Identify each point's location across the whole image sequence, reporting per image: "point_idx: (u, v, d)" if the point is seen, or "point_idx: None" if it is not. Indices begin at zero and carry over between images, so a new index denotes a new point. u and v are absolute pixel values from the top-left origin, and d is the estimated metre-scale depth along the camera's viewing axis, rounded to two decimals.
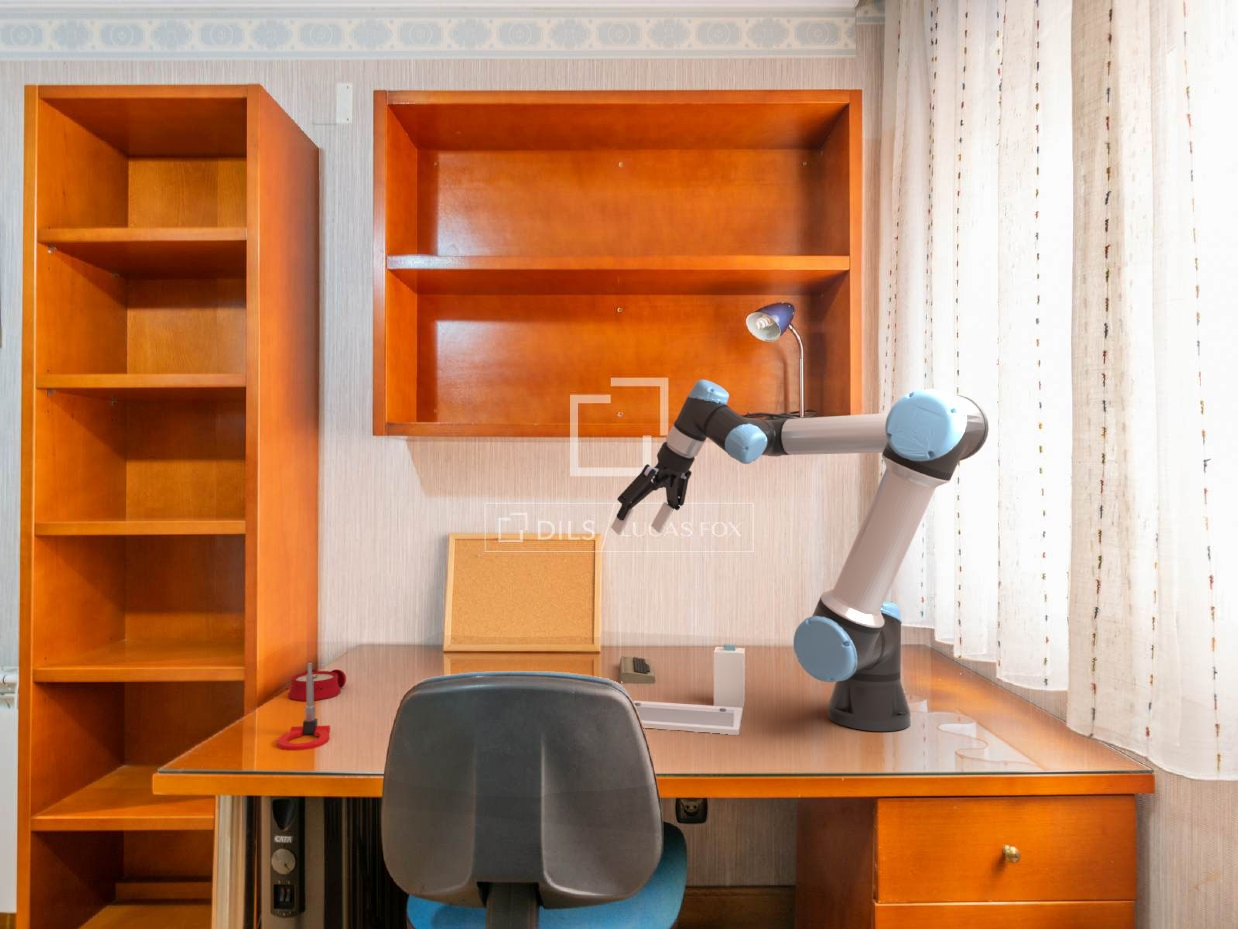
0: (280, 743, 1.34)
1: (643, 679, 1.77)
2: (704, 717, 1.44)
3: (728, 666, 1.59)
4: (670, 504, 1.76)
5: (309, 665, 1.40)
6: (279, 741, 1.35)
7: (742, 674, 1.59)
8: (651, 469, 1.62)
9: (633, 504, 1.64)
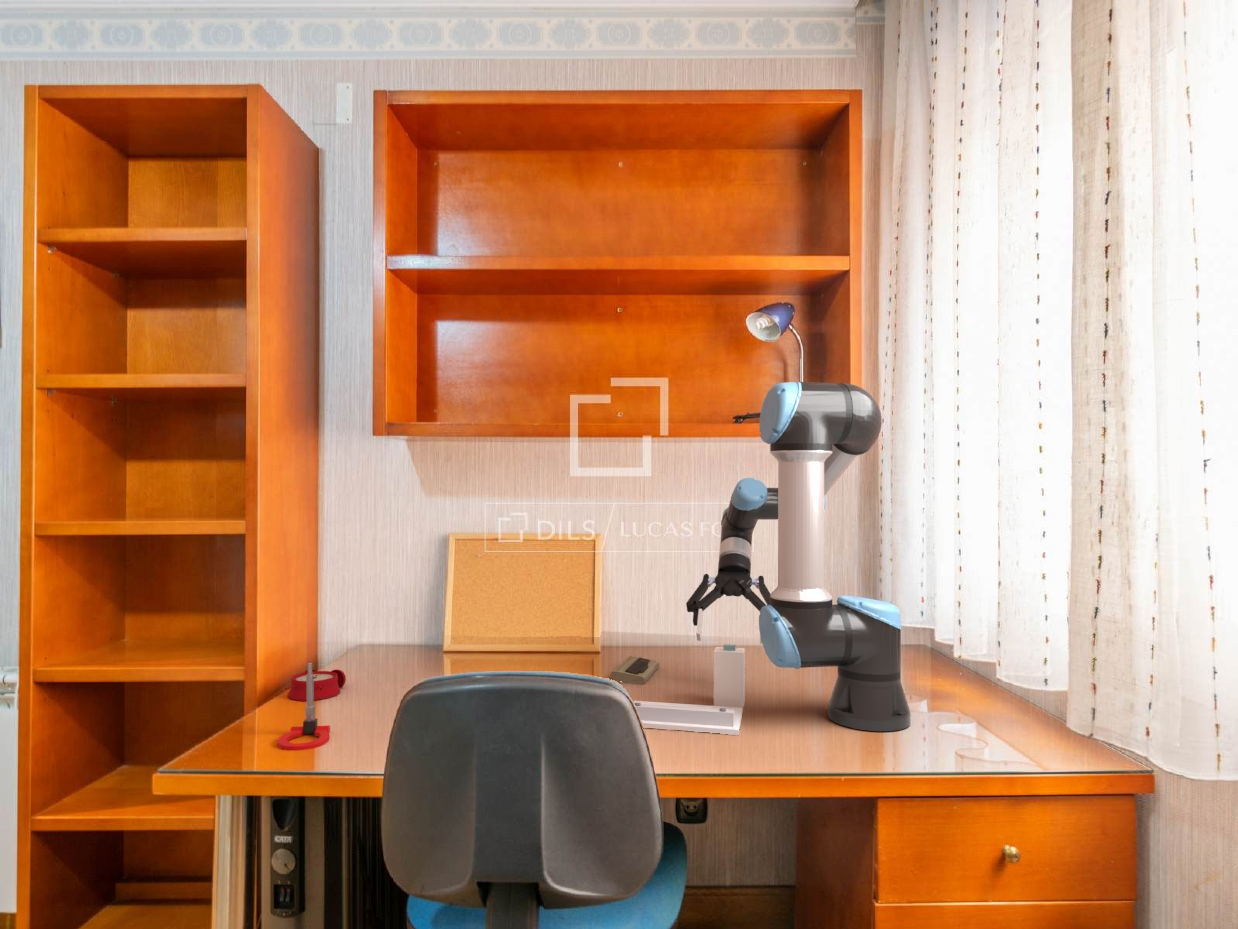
0: (280, 743, 1.34)
1: (633, 679, 1.77)
2: (704, 717, 1.44)
3: (728, 666, 1.59)
4: None
5: (309, 665, 1.40)
6: (279, 741, 1.35)
7: (742, 674, 1.59)
8: None
9: (698, 604, 1.75)
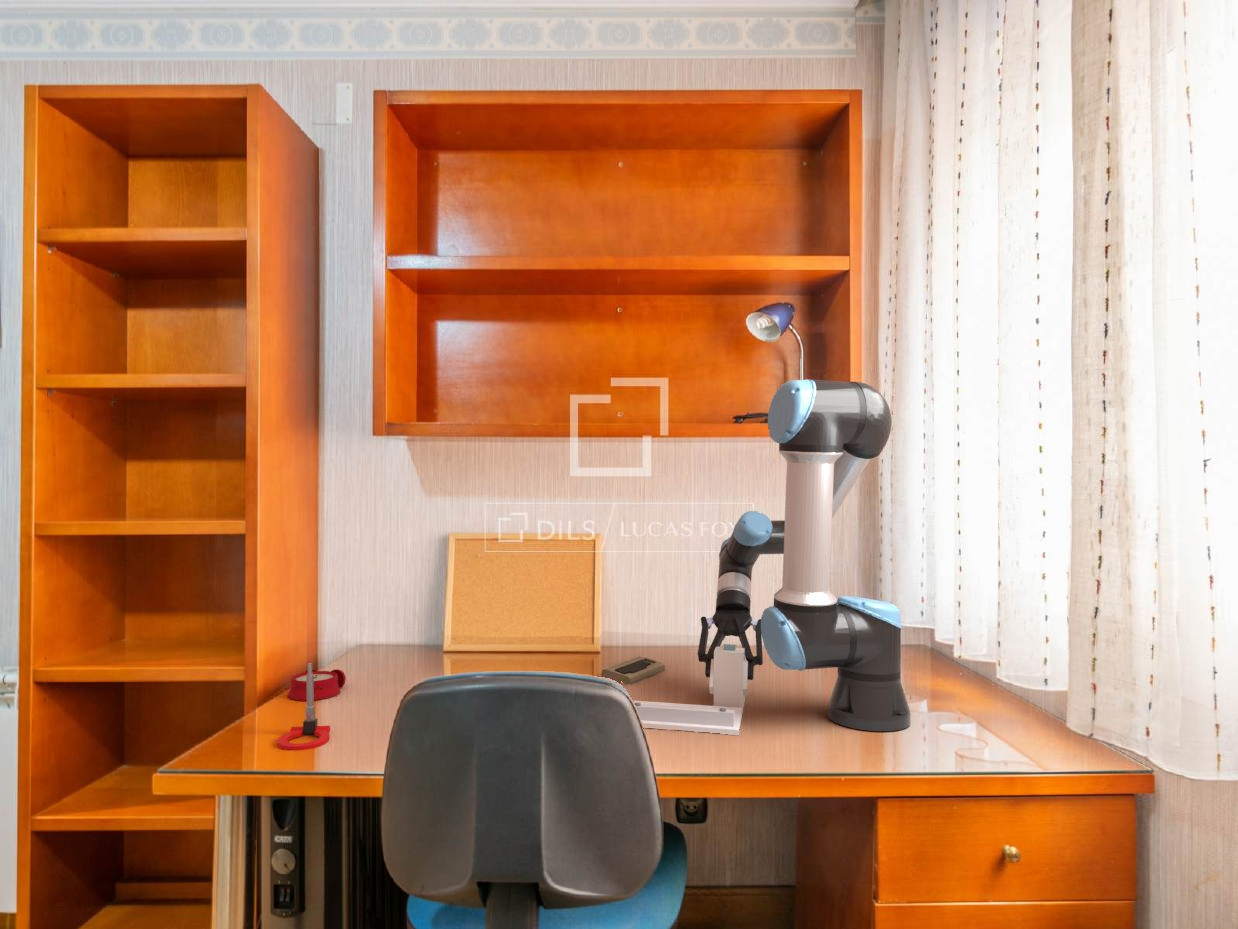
0: (280, 743, 1.34)
1: (620, 678, 1.77)
2: (704, 717, 1.44)
3: (728, 665, 1.59)
4: None
5: (309, 665, 1.40)
6: (279, 741, 1.35)
7: (742, 674, 1.59)
8: None
9: (709, 653, 1.64)
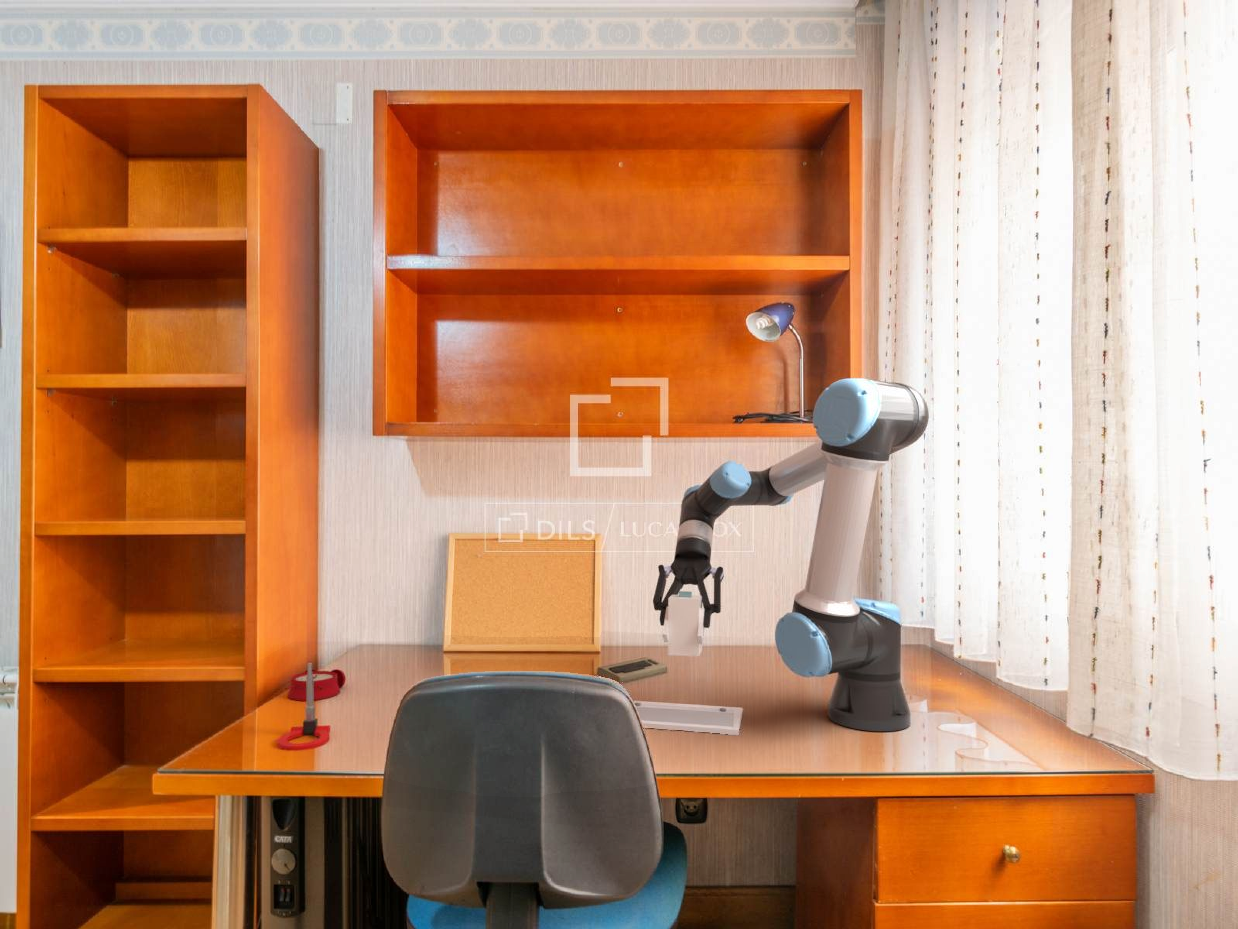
0: (280, 743, 1.34)
1: (611, 677, 1.78)
2: (704, 717, 1.44)
3: (683, 612, 1.52)
4: None
5: (309, 665, 1.40)
6: (279, 741, 1.35)
7: (697, 621, 1.51)
8: None
9: (665, 601, 1.56)
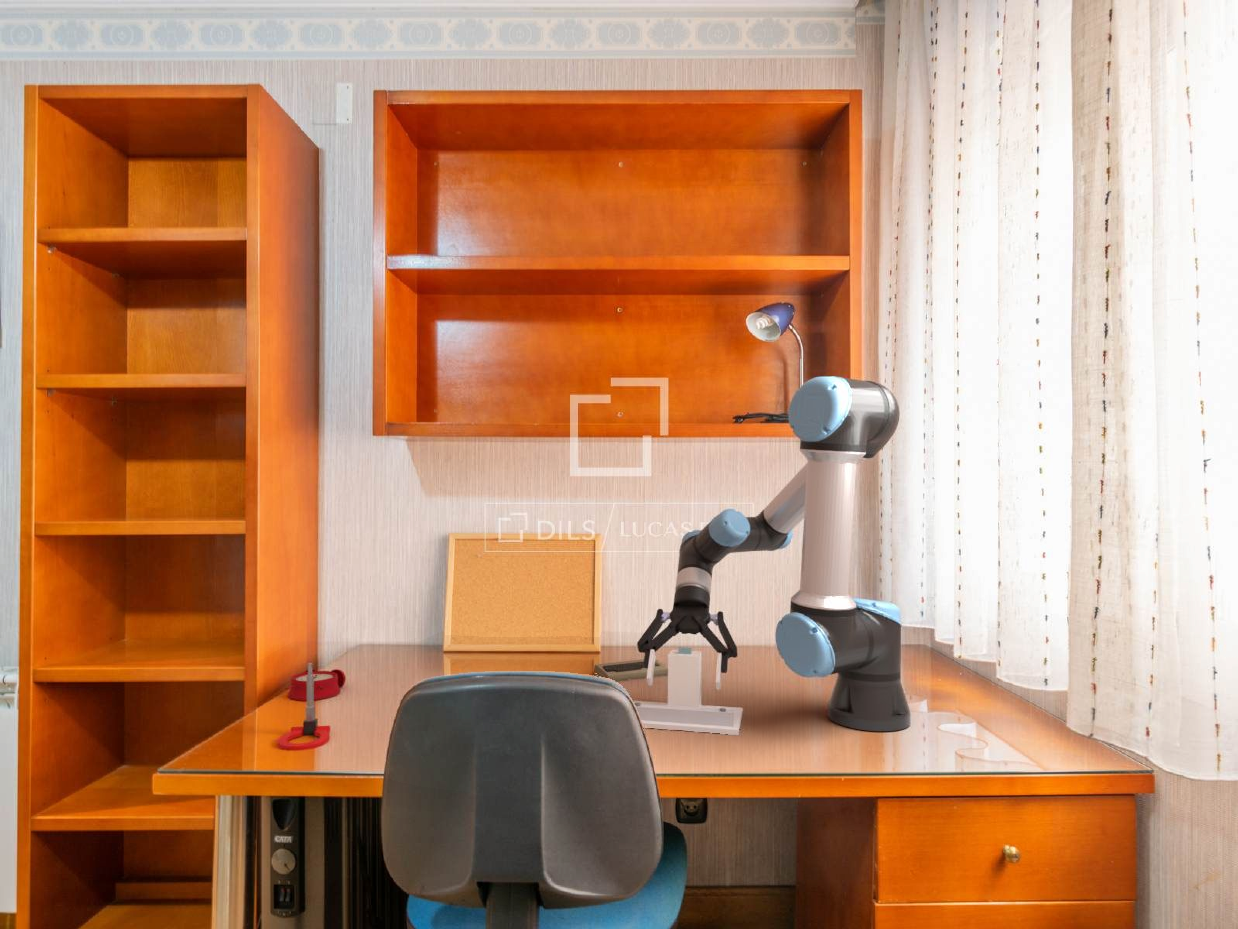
0: (280, 743, 1.34)
1: (603, 675, 1.80)
2: (704, 717, 1.44)
3: (682, 670, 1.51)
4: None
5: (309, 665, 1.40)
6: (279, 741, 1.35)
7: (697, 679, 1.51)
8: None
9: (650, 644, 1.57)
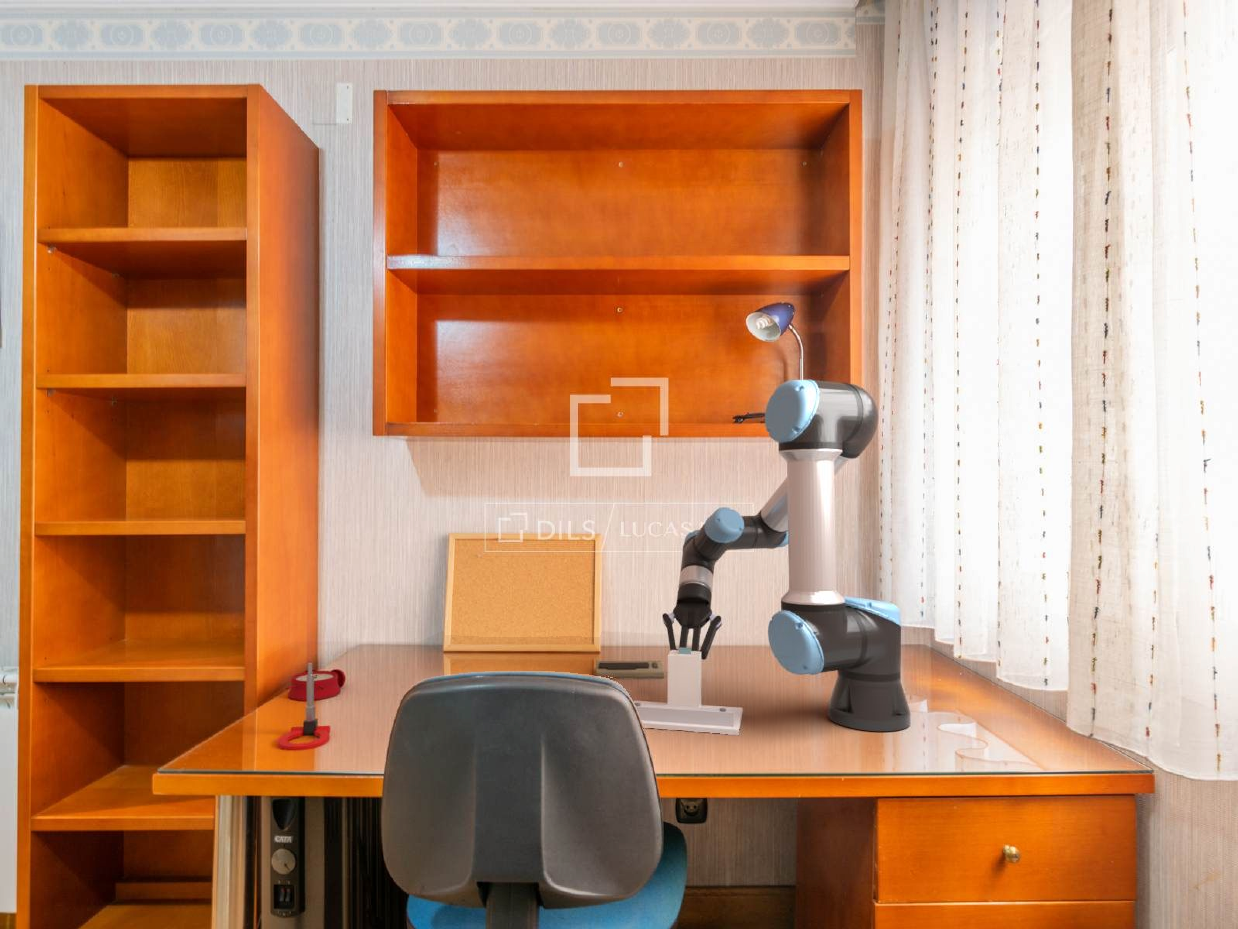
0: (280, 743, 1.34)
1: None
2: (704, 717, 1.44)
3: (682, 670, 1.51)
4: None
5: (309, 665, 1.40)
6: (279, 741, 1.35)
7: (697, 679, 1.50)
8: None
9: None
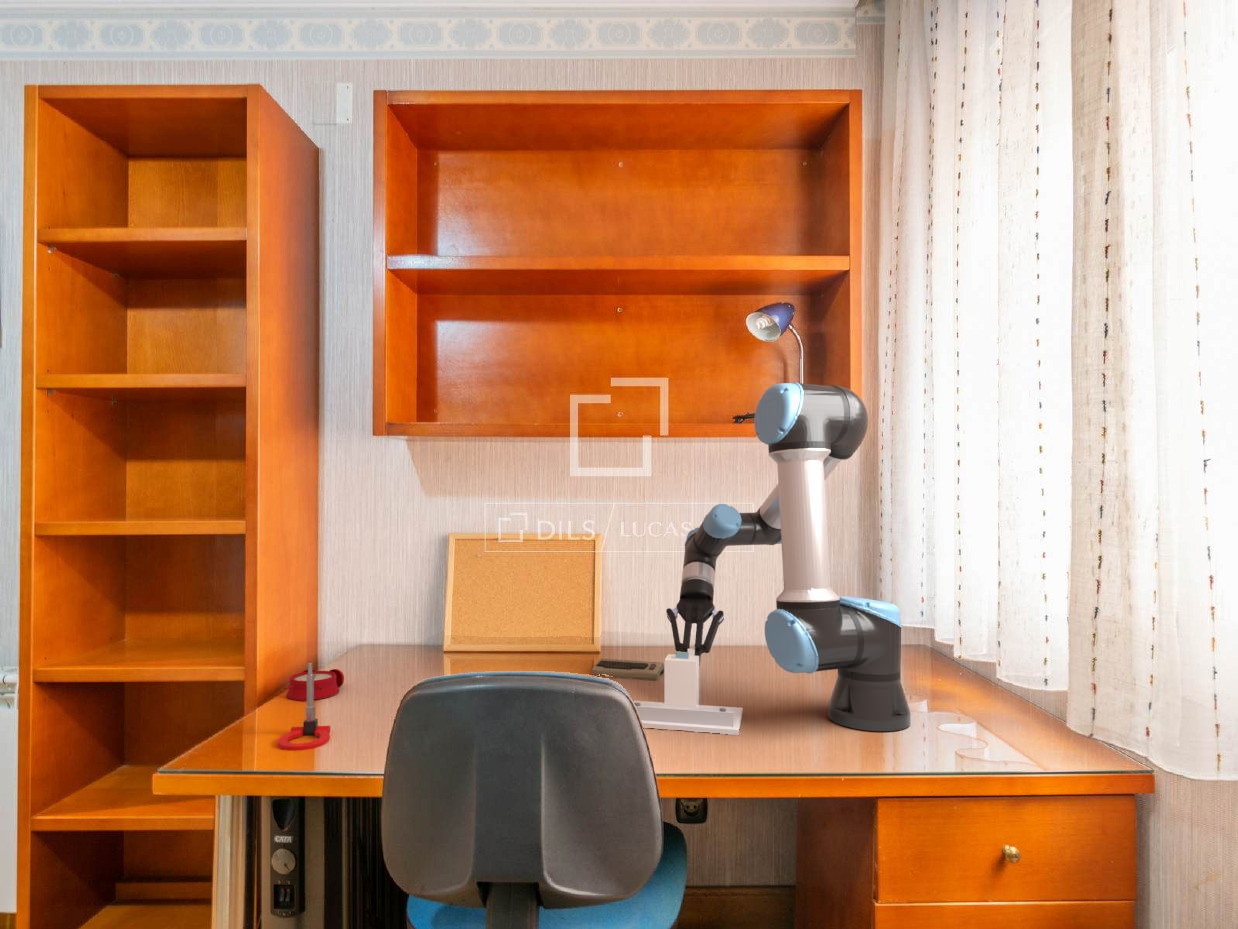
0: (280, 743, 1.34)
1: None
2: (704, 717, 1.44)
3: (679, 675, 1.47)
4: None
5: (309, 665, 1.40)
6: (279, 741, 1.35)
7: (695, 684, 1.47)
8: None
9: (684, 643, 1.67)
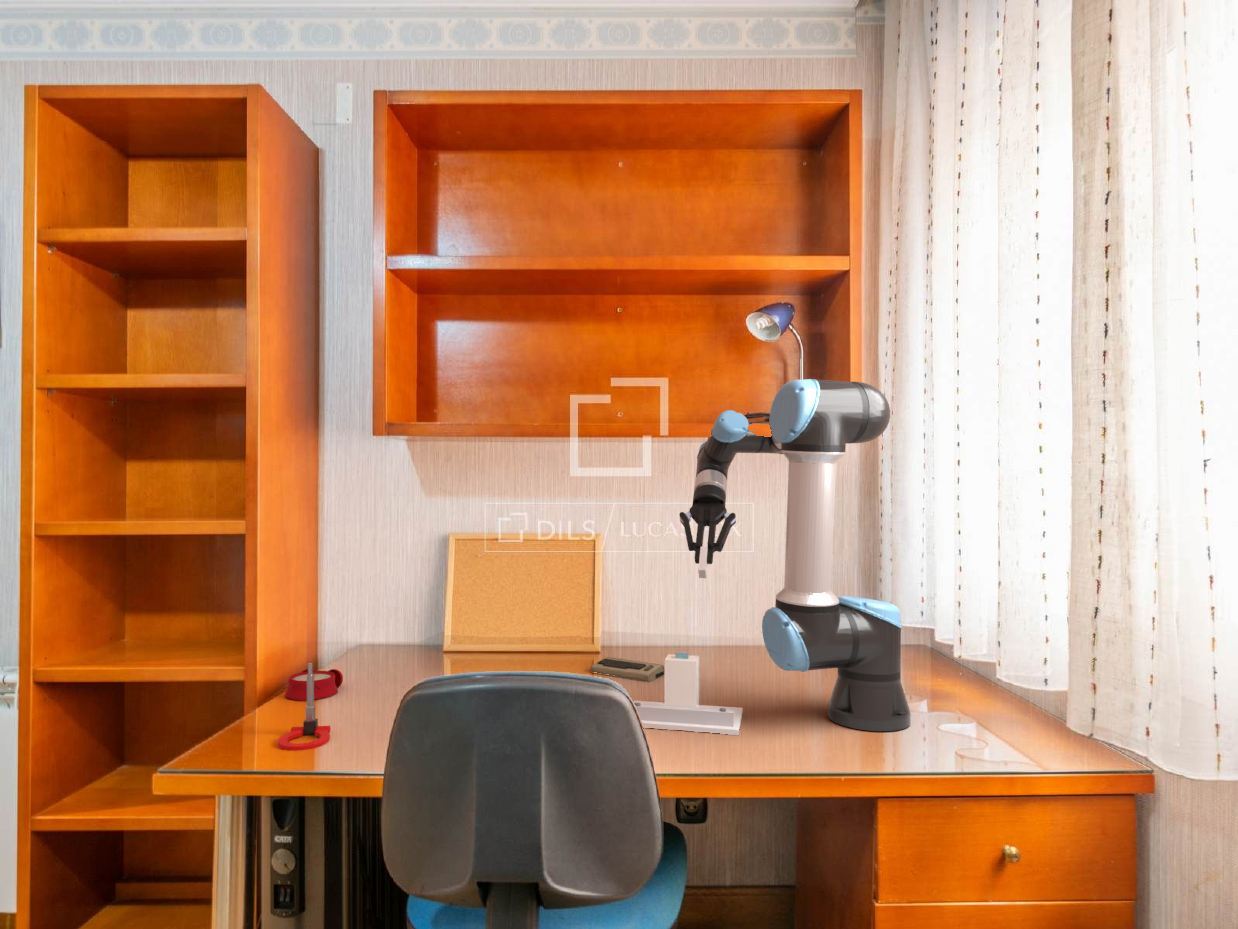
0: (280, 743, 1.34)
1: None
2: (704, 717, 1.44)
3: (679, 675, 1.47)
4: None
5: (309, 665, 1.40)
6: (279, 741, 1.35)
7: (695, 684, 1.47)
8: None
9: (697, 541, 1.71)
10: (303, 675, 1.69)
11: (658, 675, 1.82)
